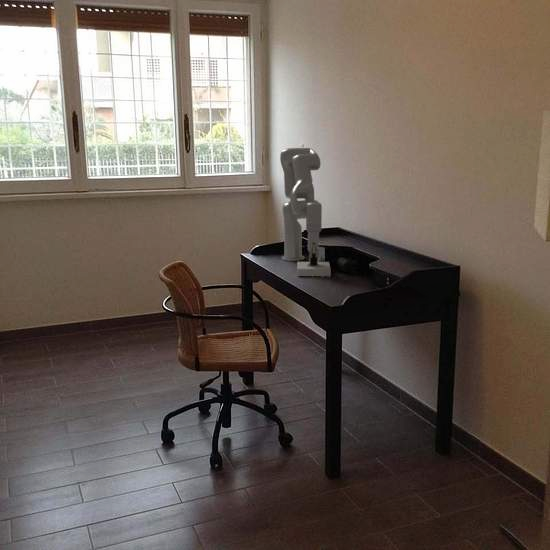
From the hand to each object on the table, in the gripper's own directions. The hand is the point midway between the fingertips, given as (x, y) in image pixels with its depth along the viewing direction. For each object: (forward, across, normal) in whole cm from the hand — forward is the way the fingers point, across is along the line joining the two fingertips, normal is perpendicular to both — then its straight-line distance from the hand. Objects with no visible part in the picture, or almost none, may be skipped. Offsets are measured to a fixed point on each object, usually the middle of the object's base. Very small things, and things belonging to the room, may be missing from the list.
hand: (313, 263), depth 315 cm
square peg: (+2, 0, 0) cm, 2 cm away
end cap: (+5, -2, +17) cm, 18 cm away
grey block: (+5, -14, +3) cm, 15 cm away
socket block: (+5, 0, 0) cm, 5 cm away
